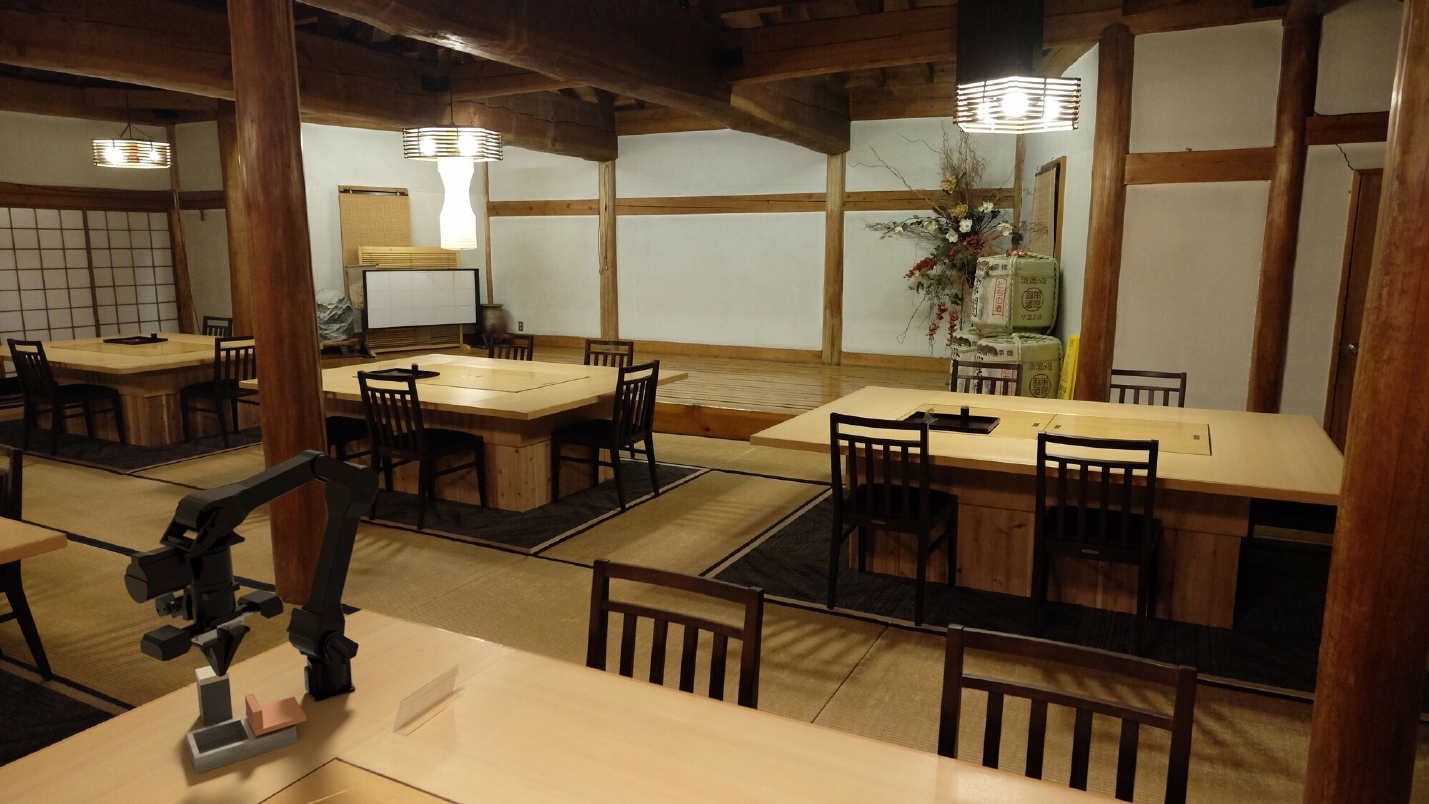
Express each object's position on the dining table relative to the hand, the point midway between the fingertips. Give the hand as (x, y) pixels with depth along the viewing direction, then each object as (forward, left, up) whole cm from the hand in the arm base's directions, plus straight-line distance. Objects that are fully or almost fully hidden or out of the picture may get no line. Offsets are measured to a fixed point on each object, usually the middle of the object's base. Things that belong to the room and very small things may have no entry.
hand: (220, 675), depth 130 cm
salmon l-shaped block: (-6, +3, -8) cm, 11 cm away
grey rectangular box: (-2, +3, -11) cm, 11 cm away
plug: (0, -8, -11) cm, 14 cm away
